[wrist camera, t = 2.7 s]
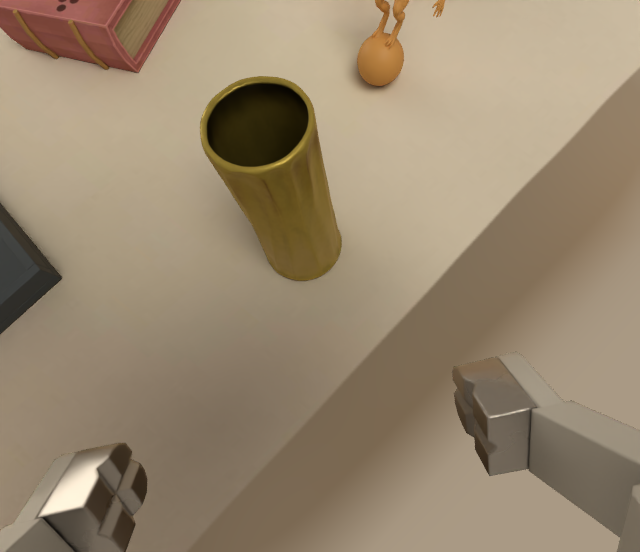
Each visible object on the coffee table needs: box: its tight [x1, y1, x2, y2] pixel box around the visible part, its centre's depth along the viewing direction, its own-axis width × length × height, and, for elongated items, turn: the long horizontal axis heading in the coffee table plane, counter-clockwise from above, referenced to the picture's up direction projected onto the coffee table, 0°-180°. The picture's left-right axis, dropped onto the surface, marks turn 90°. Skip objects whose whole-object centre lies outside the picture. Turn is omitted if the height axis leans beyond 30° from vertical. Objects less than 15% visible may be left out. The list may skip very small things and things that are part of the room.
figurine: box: [357, 0, 445, 86], centre depth 29 cm, size 8×6×12 cm
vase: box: [200, 76, 342, 281], centre depth 23 cm, size 6×6×14 cm
